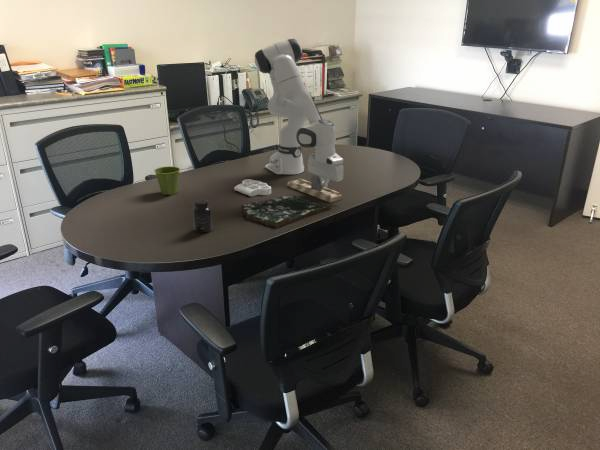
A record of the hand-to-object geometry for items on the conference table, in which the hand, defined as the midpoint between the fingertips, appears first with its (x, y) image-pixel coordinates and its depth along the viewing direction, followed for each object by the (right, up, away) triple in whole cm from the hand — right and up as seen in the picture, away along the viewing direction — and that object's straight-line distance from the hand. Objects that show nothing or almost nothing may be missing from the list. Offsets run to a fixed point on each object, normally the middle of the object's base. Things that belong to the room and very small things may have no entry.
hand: (324, 185), depth 234 cm
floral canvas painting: (-20, -12, -15) cm, 28 cm away
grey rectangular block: (-3, -1, +4) cm, 5 cm away
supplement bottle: (-49, -20, -35) cm, 64 cm away
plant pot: (-72, -3, +5) cm, 73 cm away
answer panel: (-5, -3, +6) cm, 8 cm away
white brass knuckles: (-33, -2, +9) cm, 34 cm away
